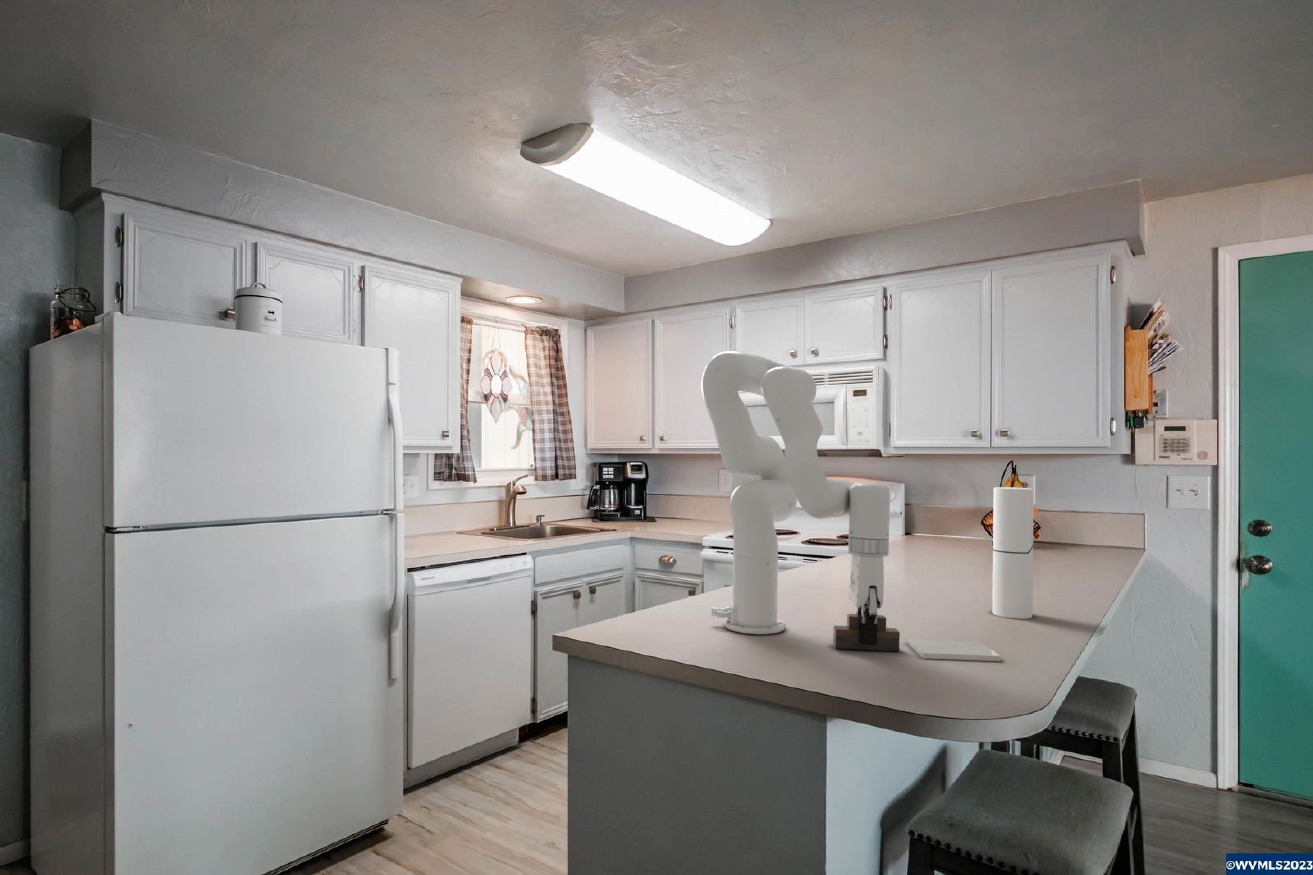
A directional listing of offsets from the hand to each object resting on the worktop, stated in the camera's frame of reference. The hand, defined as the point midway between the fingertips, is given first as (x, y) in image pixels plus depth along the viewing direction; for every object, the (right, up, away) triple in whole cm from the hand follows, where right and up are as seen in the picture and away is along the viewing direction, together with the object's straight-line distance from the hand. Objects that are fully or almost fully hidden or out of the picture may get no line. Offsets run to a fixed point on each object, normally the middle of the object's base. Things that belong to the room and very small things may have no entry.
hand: (865, 640), depth 143 cm
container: (+44, -3, +32) cm, 55 cm away
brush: (0, -1, 0) cm, 1 cm away
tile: (+16, -2, -1) cm, 16 cm away
